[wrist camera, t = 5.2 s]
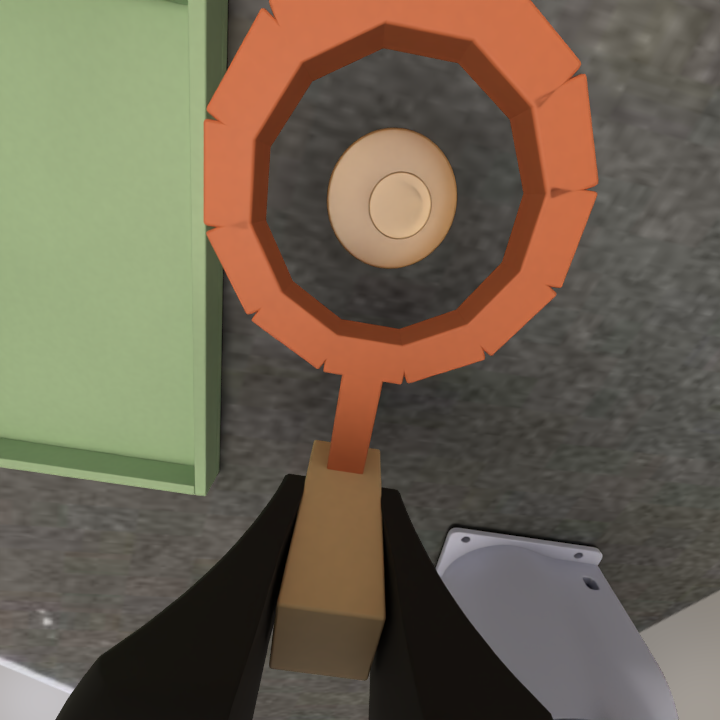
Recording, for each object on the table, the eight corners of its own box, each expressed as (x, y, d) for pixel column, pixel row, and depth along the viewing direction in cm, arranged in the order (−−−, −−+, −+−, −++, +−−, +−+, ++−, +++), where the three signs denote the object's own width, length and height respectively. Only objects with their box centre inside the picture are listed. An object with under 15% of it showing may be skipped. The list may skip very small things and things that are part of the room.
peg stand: (468, 143, 15) (518, 117, 10) (436, 274, 17) (464, 308, 12) (337, 119, 15) (320, 79, 10) (321, 255, 17) (300, 281, 12)
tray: (228, -3, 13) (205, -35, 11) (219, 471, 22) (205, 496, 20) (-196, -88, 13) (-292, -136, 11) (-36, 434, 21) (-74, 456, 19)
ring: (626, 32, 9) (1051, -240, 3) (454, 511, 15) (504, 700, 9) (229, -51, 8) (-40, -517, 3) (218, 476, 14) (123, 651, 9)
